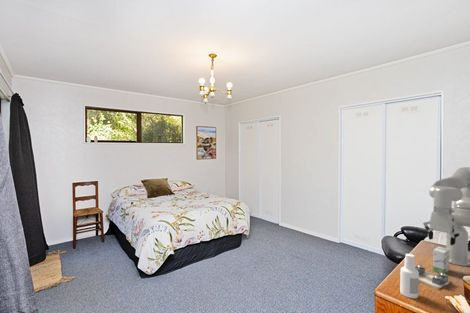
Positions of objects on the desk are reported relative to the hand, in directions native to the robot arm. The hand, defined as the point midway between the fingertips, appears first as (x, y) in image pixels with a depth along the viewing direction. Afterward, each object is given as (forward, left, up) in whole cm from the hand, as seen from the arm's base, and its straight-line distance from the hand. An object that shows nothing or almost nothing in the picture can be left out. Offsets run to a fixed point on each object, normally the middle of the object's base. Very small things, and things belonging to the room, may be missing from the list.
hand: (441, 241), depth 137 cm
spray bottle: (+40, +4, -16) cm, 44 cm away
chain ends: (+17, +1, -16) cm, 23 cm away
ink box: (-1, 0, -16) cm, 16 cm away
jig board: (+17, +1, -16) cm, 23 cm away
